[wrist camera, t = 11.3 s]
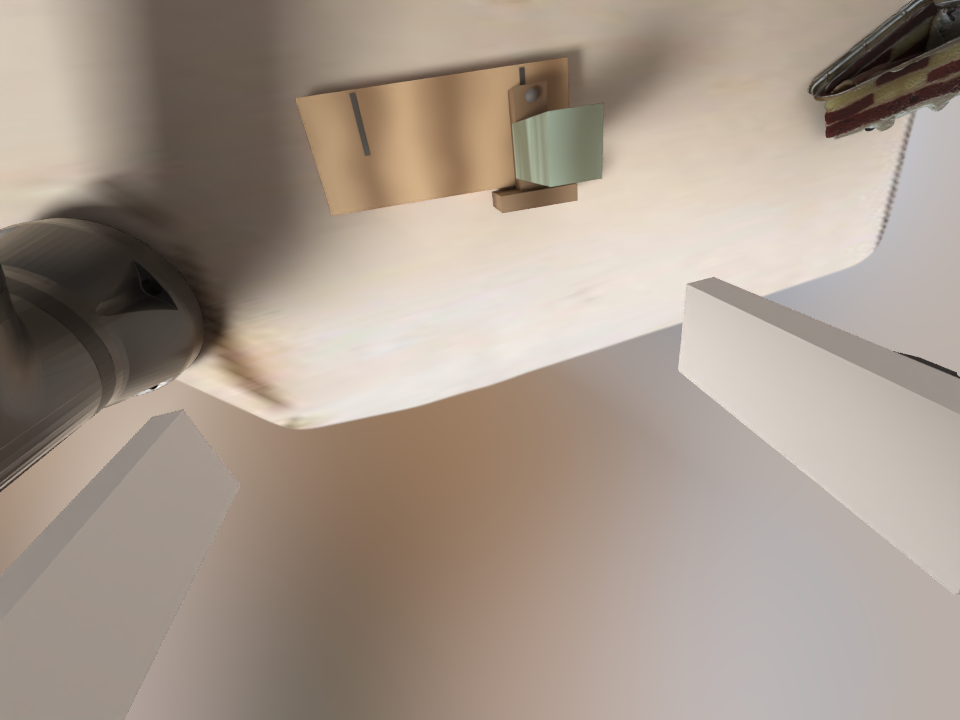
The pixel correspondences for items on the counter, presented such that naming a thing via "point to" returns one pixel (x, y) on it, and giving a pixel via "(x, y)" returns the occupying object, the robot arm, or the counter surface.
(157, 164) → the counter surface
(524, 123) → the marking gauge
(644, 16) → the counter surface
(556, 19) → the counter surface
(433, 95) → the oak board
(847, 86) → the chocolate cake
